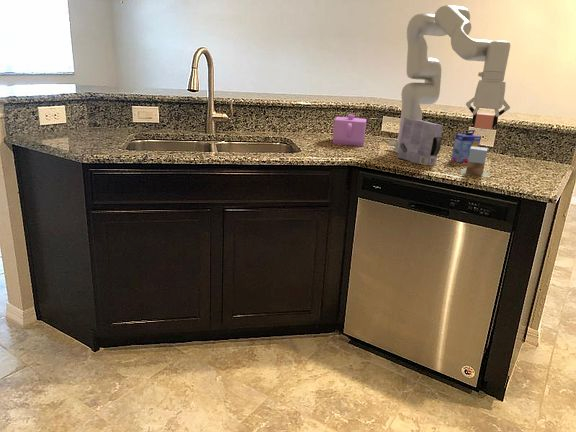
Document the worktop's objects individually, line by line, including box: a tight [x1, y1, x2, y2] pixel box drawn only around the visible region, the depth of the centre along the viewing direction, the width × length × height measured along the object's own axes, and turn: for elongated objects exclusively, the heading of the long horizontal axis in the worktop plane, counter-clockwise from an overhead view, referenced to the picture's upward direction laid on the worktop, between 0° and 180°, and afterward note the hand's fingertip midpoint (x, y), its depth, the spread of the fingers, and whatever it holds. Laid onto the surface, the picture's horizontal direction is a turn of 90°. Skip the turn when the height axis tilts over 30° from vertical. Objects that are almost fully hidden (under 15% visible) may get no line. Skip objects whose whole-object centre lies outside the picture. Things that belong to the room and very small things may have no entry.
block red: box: [473, 112, 495, 131], centre depth 177 cm, size 6×6×5 cm
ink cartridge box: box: [450, 129, 482, 163], centre depth 204 cm, size 10×6×14 cm, turn 111°
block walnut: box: [465, 162, 486, 177], centre depth 183 cm, size 6×6×5 cm
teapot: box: [332, 113, 367, 147], centre depth 236 cm, size 15×25×14 cm, turn 170°
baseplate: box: [460, 169, 489, 178], centre depth 185 cm, size 10×7×1 cm
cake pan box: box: [397, 118, 444, 166], centre depth 199 cm, size 19×5×18 cm, turn 32°
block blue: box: [468, 146, 489, 164], centre depth 181 cm, size 6×6×5 cm
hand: (483, 125), depth 178 cm, fingers closed on block red, 6 cm apart
